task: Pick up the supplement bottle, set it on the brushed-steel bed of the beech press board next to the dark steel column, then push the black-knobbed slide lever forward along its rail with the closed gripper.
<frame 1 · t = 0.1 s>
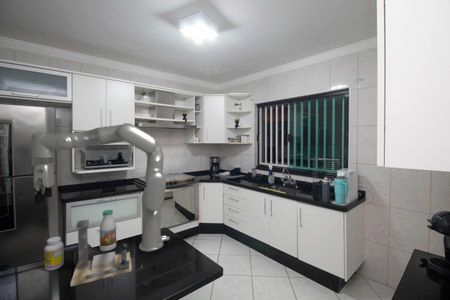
hand: (44, 199, 91), 31 cm above the counter, fingers open, 9 cm apart
milk bottle: (108, 248, 110), on the counter
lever: (123, 254, 90), point 8 cm above the counter, slide at 0.0 cm
supplement bottle: (54, 266, 94), on the counter
press: (103, 268, 93), on the counter
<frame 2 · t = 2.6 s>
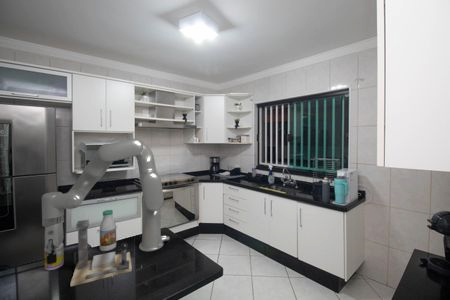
hand: (54, 258, 93), 4 cm above the counter, fingers closed on supplement bottle, 6 cm apart
supplement bottle: (54, 266, 94), on the counter, touching gripper
everything else where it was.
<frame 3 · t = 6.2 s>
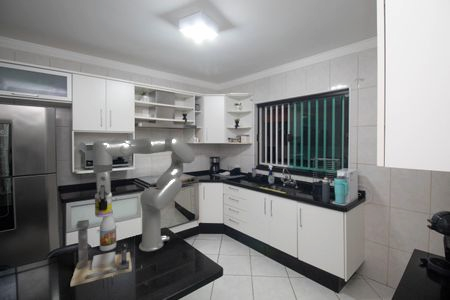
hand: (103, 207, 94), 27 cm above the counter, fingers closed on supplement bottle, 6 cm apart
supplement bottle: (103, 215, 94), point 23 cm above the counter, touching gripper
everything else where it was.
when the fingers open (8 cm above the counter, at t = 9.6 s): supplement bottle drops 1 cm, resting on press.
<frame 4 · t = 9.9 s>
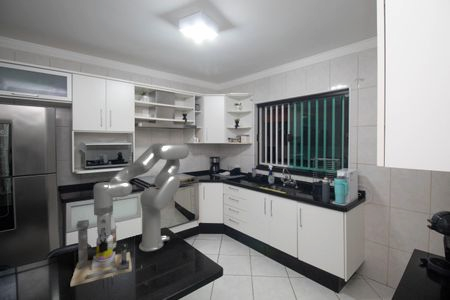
hand: (104, 246, 95), 9 cm above the counter, fingers open, 9 cm apart
supplement bottle: (104, 258, 95), point 3 cm above the counter, touching press
everything else where it was.
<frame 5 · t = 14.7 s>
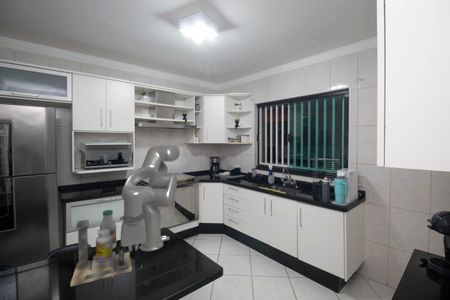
hand: (133, 258, 92), 5 cm above the counter, fingers closed
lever: (121, 255, 90), point 8 cm above the counter, slide at 1.1 cm, touching gripper
everything else where it was.
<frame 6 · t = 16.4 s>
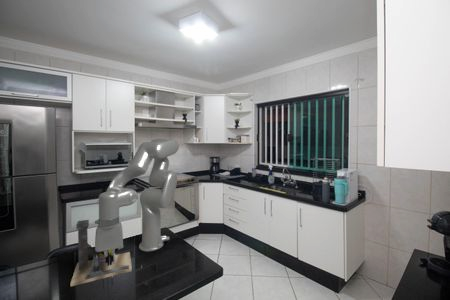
hand: (109, 263, 88), 5 cm above the counter, fingers closed
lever: (96, 260, 85), point 8 cm above the counter, slide at 10.4 cm, touching gripper
everything else where it was.
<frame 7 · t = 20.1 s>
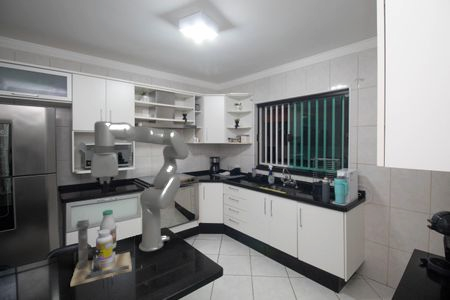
hand: (105, 192, 90), 35 cm above the counter, fingers closed
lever: (96, 260, 85), point 8 cm above the counter, slide at 10.4 cm
everything else where it was.
at the end: supplement bottle inside the target area on the press (0.1 cm from its centre), point 2.8 cm above the press's base; supplement bottle tilted 0°; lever slide at 10.4 cm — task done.
